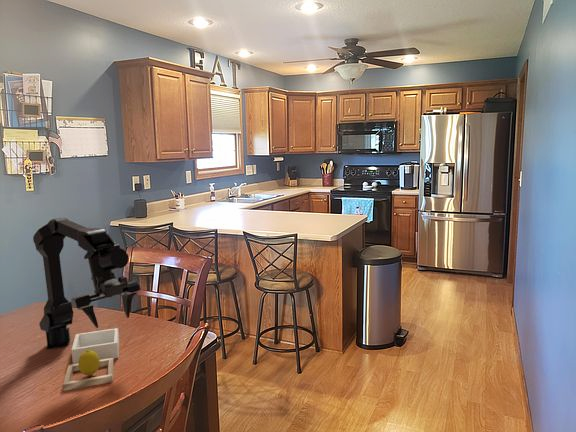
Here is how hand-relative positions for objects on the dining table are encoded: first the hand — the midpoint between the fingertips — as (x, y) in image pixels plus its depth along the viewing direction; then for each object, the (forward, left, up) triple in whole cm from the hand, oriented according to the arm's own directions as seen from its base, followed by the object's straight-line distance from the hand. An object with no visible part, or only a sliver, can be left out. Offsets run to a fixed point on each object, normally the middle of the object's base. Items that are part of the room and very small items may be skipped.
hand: (112, 322), depth 133 cm
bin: (-6, +12, -14) cm, 19 cm away
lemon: (-7, -4, -14) cm, 16 cm away
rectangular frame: (-7, -4, -14) cm, 16 cm away
